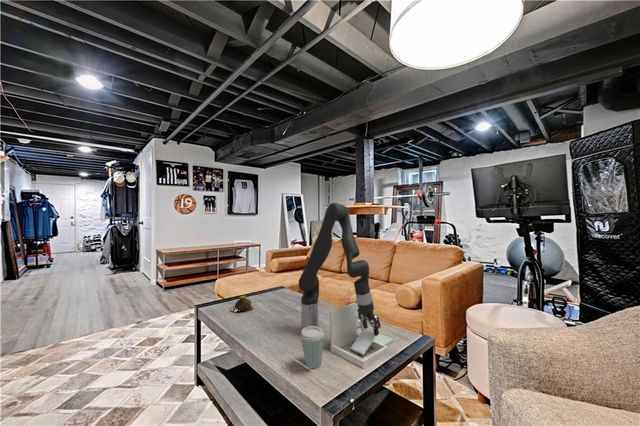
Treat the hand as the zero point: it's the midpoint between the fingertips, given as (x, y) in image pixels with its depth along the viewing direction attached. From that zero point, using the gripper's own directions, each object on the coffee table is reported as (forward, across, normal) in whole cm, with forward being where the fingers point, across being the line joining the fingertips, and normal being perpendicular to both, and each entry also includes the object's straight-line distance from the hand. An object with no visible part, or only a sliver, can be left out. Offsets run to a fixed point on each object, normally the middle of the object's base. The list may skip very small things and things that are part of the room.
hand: (371, 331), depth 129 cm
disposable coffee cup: (0, 0, +33) cm, 33 cm away
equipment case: (+5, -1, +10) cm, 11 cm away
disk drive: (+9, +22, -4) cm, 24 cm away
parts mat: (+8, +2, -4) cm, 10 cm away
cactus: (0, +89, +46) cm, 100 cm away
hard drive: (+4, -2, +12) cm, 13 cm away
